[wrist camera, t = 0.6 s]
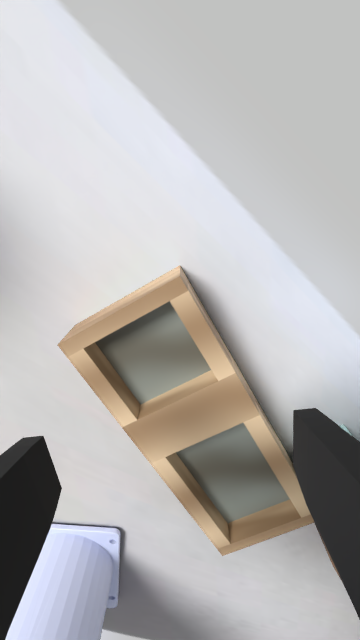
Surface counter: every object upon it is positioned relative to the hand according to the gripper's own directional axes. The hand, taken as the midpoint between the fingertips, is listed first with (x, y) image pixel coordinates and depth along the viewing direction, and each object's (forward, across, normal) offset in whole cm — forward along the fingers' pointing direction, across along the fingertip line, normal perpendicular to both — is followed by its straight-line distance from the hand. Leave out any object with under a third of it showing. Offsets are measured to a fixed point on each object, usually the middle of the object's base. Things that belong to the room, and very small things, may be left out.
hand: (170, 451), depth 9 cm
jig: (+10, -1, +6) cm, 11 cm away
